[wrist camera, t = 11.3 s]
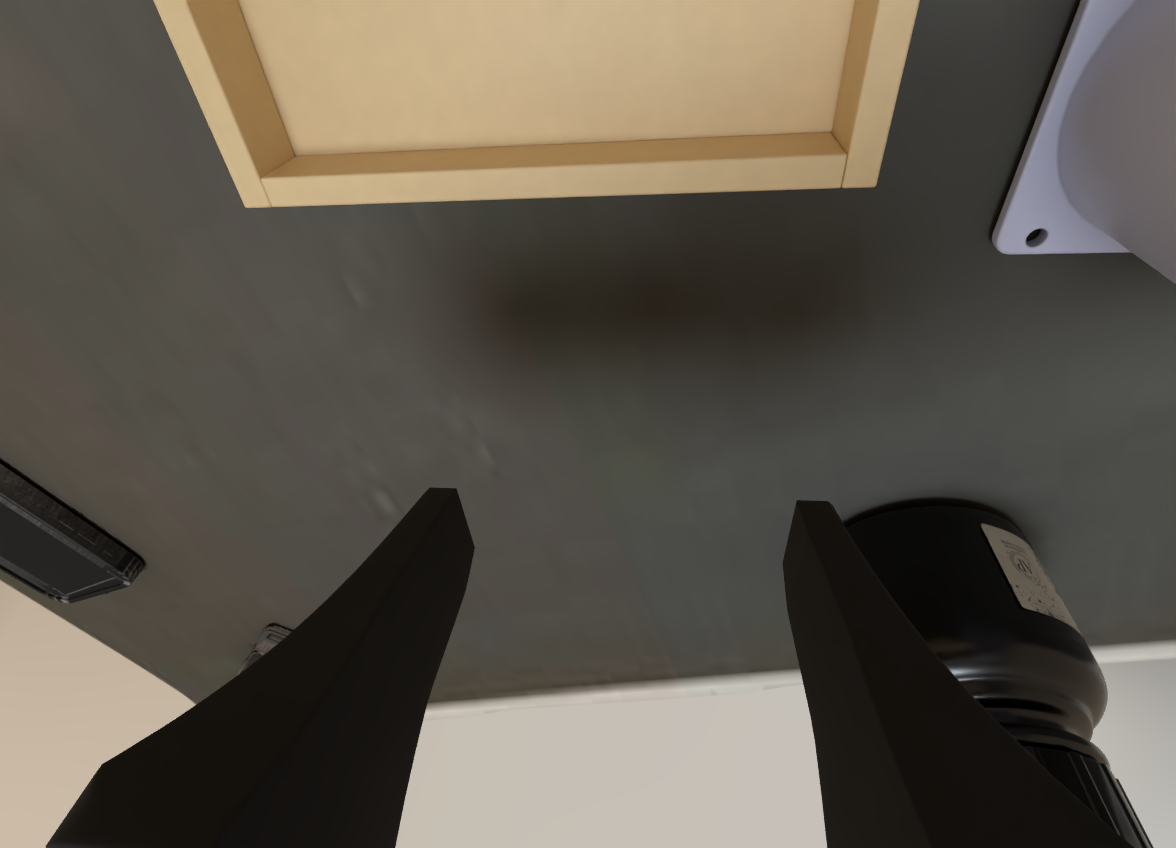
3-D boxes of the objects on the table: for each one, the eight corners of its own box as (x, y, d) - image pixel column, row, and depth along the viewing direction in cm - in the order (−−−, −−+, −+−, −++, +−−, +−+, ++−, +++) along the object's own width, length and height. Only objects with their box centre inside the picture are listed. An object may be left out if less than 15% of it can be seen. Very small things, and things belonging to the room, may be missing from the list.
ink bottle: (1001, 621, 29) (1152, 948, 19) (808, 625, 31) (865, 923, 21) (1052, 481, 23) (1305, 857, 13) (809, 498, 25) (887, 834, 16)
